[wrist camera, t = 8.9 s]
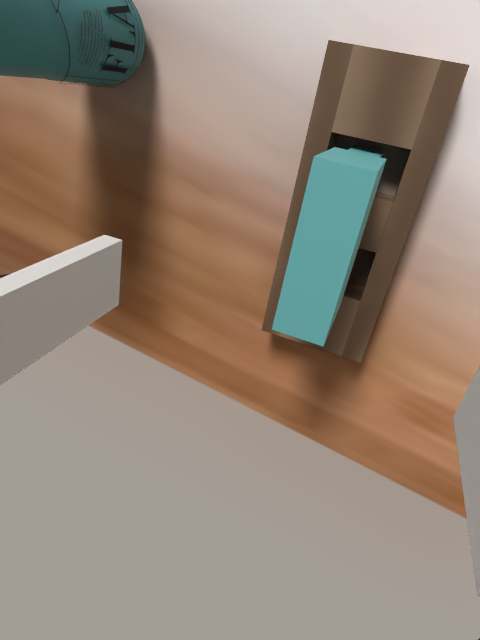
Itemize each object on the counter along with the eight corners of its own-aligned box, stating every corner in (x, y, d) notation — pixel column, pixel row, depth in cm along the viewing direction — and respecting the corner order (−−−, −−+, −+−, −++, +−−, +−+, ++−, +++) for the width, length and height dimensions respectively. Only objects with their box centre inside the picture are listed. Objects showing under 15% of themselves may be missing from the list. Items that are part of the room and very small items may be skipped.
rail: (271, 315, 39) (261, 330, 36) (336, 46, 29) (328, 40, 27) (364, 345, 37) (360, 362, 34) (464, 68, 28) (469, 65, 25)
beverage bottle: (157, 93, 34) (-98, 80, 17) (82, 82, 36) (-218, 60, 19) (160, -11, 31) (-143, -152, 14) (78, -18, 33) (-282, -153, 16)
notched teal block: (314, 266, 36) (271, 329, 26) (349, 140, 31) (313, 156, 21) (352, 277, 35) (323, 346, 25) (392, 150, 31) (377, 171, 20)
